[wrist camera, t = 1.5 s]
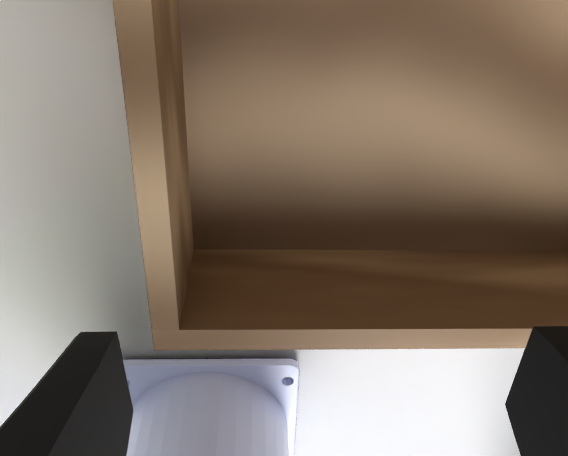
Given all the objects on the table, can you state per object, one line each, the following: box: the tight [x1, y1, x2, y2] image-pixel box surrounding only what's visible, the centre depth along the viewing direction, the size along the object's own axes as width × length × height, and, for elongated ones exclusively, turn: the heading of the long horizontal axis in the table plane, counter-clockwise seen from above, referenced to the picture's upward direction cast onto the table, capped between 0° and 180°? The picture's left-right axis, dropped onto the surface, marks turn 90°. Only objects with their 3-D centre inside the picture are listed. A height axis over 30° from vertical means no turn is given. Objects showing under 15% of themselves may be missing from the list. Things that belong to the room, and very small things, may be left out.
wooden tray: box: [113, 0, 568, 350], centre depth 15 cm, size 16×18×5 cm
